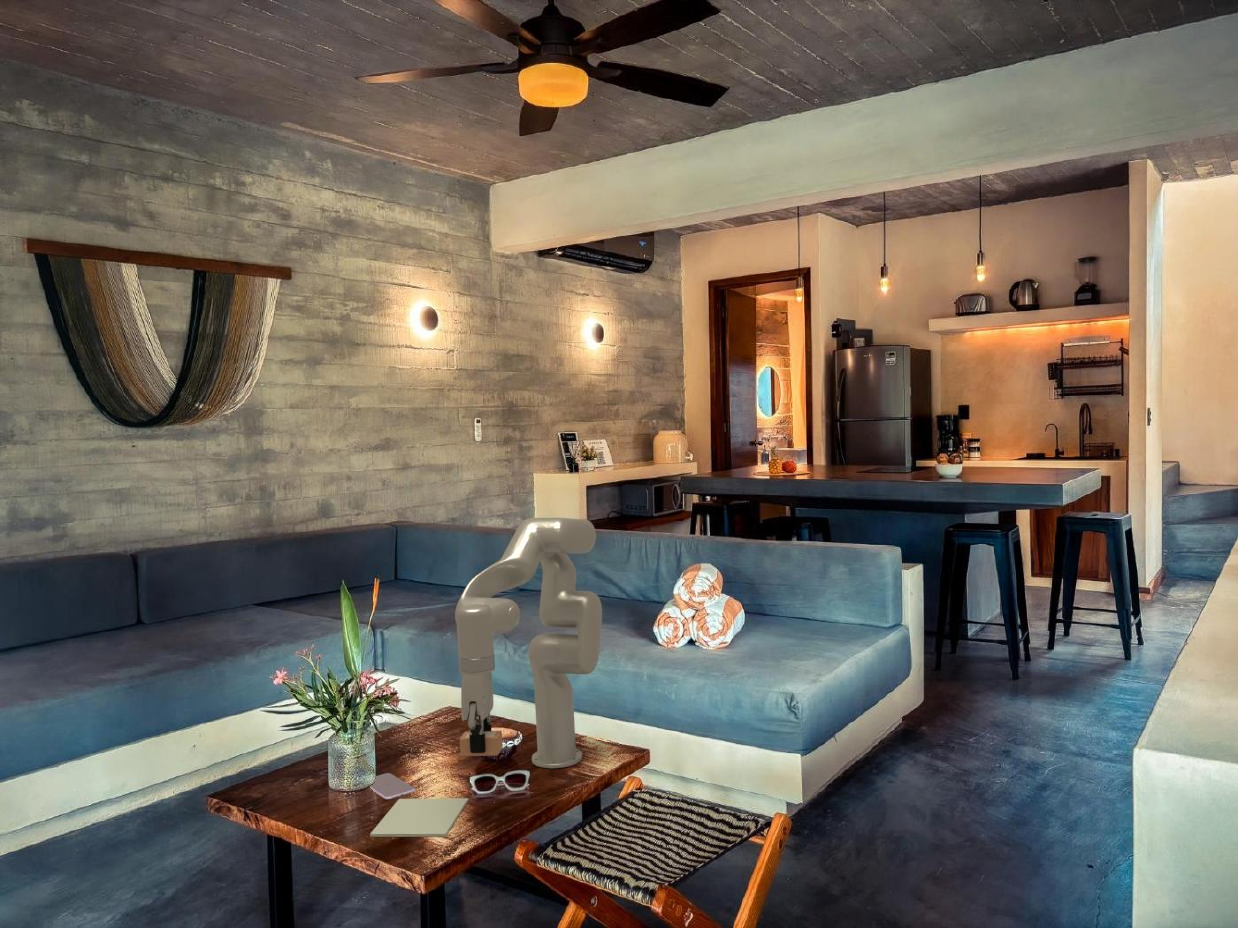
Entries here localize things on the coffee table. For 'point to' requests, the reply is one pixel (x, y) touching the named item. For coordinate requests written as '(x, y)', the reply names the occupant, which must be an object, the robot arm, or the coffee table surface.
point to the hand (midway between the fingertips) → (481, 746)
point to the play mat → (420, 818)
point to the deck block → (491, 740)
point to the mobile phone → (390, 786)
